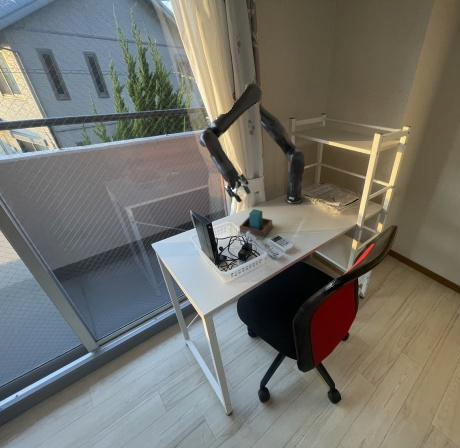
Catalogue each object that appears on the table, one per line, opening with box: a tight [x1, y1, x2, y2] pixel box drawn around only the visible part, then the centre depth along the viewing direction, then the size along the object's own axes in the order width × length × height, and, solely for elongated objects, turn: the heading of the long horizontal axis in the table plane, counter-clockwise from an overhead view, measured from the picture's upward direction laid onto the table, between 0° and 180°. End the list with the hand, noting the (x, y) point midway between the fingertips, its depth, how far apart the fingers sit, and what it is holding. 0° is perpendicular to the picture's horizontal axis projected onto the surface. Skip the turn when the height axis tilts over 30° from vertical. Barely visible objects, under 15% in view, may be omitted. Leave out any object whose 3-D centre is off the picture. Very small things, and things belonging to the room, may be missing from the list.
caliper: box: [245, 230, 276, 258], centre depth 115 cm, size 20×1×6 cm, turn 46°
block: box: [248, 208, 264, 230], centre depth 127 cm, size 5×5×10 cm
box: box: [239, 216, 273, 239], centre depth 129 cm, size 12×13×4 cm
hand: (244, 197), depth 126 cm, fingers open, 8 cm apart
